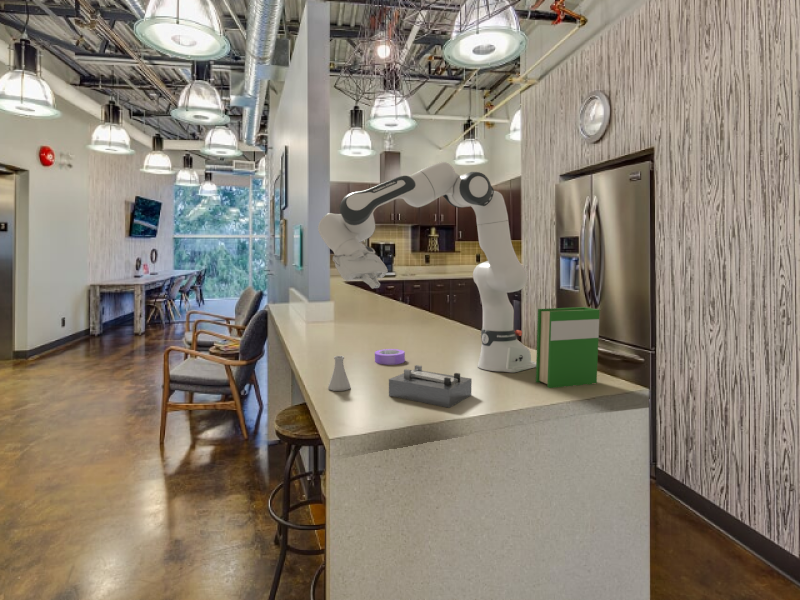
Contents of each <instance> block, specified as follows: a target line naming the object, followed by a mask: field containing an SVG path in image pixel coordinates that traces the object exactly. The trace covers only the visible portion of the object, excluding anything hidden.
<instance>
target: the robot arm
mask: <svg viewBox="0 0 800 600" xmlns="http://www.w3.org/2000/svg"><path fill="white" fill-rule="evenodd" d="M441 197H443V198H444V200H445V201H446V202H447V203H448V204H449V205H451V206H452V207H454V208H468V207H471V208H472V209H473V211H474V214H475V218H476V219H475V220H476V226H477V227H476V228H477V236H478V237H477V238H478V243H479V244H478V245H479V247H480V249H481V250H482V251H483V253H484V255H485V257H486V259H487V260H486V261H483V262H480V263H479V264H477V265H476V266H475V267H474V268H473V272H472V279H473V282H474V283H475V284H476V286H477V289H478V291H479V296H480V301H481V305H482V307H481V308H482V328H481V333H480V338H481V348H480V354H479V359H478V362H477V368H479V369H482V370H485V371H491V372H505V373H518V372H522V371H525V370H530V369H532V368H536V362H535V361H533V360H532V357H531V351H530V349H529V348H528V347H527V346H526V345H525V344H523V343H522V342H521V341H519V340H518V337H517V336H519V337H521V336H522V335H523V332H522V330H519V329H516V330H515V329H514V316H515V315H514V314H515V313H514V312H515V311H514V306H513V305H512V303H511V302H510V299H509V296H508V293H509V294H510V293H514V292H519V291H521V290H522V289H523V288H525V286H526V284H527V282H528V279H529V278H528V276H529V275H528V272H527V270H526V268H525V266H524V265H522V264H521V262H520V261H519V258H518V256H517V254H516V252H515V249H514V246H513V244H512V238H511V231H510V230H511V229H510V225H509V224H510V223H509V214H508V211H507V206H506V202H505V199H504V196H503V194H502V193H501V192H500V191H497V190H495V189H494V188H493V186H492V183H491V181H490V180H489V178H488V176H487V175H485V174H484V173H482V172H480V171H471V172H466V173H463V174H460V175H459V174H458V173H456V171H455V169H454V168H453V166H452V165H451V164H450V163H448V162H447V161H441V162H436V163H434V164H430V165H428V166H426V167H424V168H422V169H420V170H418V171H416V172H413V174H410V175H400V176H397V177H394V178H392V179H389V180H388V181H384V182H382V183H380V184H379V183H378V184H377V185H375V186H373V187H370V188H368V189H364V190H359V191H354V192H351V193H348V194H346V195H345V196H344V197H343V199H341V202H340V204H339V213H332V212H330V213H329V212H328V213H327V214H326V215H324V216H322V218H321V219H320V221H319V223H318V226H317V229H318V233H319V235H320V238H321V239H322V240H323V242H324V243H325V245H326V247H328V249H330V250H331V251H332V252H333V254H334V255H333V256H332V261H333V262H334V266H335V268H336V270H337V272H338V273H339V276H340V277H341V279H343V280H344V281H358V280H359V281H361V280H362V282H363V283H365V284H367V285H368V286H369V287H370V288H371V289H378V288H380V287H381V283H380V282H379V279H383V278H384V277H385V276H386V274H387V273H388V270H389V269H388V267H387V266H386V264H385V263H384V262H383V261H382V259H381V258H380V257H379V256H378V255H377V254H376V251H375V249H374V248H373V247H370V246H367V245H365V244H363V243H362V242H363V241H364V242H365V241H366V240H368V239H370V238H371V237H372V236H373V235H374V234H375V231H376V221H375V216H374V212H375V210H376V209H377V208H378V207H380V206H383V205H385V204H388V203H390V202H392V201H395V200H398V199H401V200H402V199H403V200H404V202H405V203H406V204H407V205H409V206H411V207H413V208H421V207H424V206H426V205H429V204H430V203H432V202H434V201H435V200H437V199H438V198H441Z"/></svg>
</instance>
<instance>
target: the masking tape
mask: <svg viewBox="0 0 800 600" xmlns="http://www.w3.org/2000/svg"><path fill="white" fill-rule="evenodd" d="M405 354H406V352H405V350H403V349H397V348H387V349H386V348H385V349H378V350H376V351H374V362H375V363H376V364H379V365H387V366H388V365H389V366H390V365H400V364H403V363H404V362H406V357H405Z"/></svg>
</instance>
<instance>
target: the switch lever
mask: <svg viewBox="0 0 800 600" xmlns="http://www.w3.org/2000/svg"><path fill="white" fill-rule="evenodd" d="M412 370H413V371H411V376H413V377H418V378H423V379H427V380H432V381H437V382H442V383H444V378H445V377H447V376H442V375H437V374H432V373H427V372H428V371H427V372H422V371H423V370H422V371H418V370H415V369H412ZM448 378H451V384H453V383H455V382H457V381H458V379H457V378H452V377H448Z"/></svg>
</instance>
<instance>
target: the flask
mask: <svg viewBox="0 0 800 600" xmlns="http://www.w3.org/2000/svg"><path fill="white" fill-rule="evenodd" d="M333 358H334V368H333V371H332V374H331V377H330V380H329V384H328V388H327V389H328V390H329V391H334V392H340V391H343V392H344V391H347V390H350V389H351V383H350V381H349V379H348V375H347V373H346V372H347V371H346V370H345V365H344V359H345V356H344V355H336V356H335V355H334V356H333Z"/></svg>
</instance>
